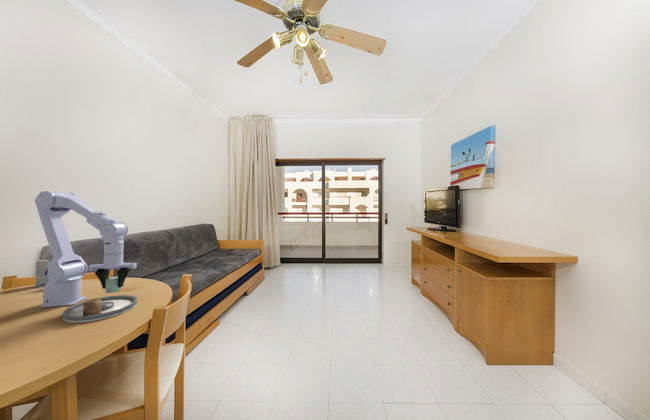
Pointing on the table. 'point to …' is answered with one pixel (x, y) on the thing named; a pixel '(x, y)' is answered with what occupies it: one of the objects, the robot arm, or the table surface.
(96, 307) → the walnut bead
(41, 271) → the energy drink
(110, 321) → the table surface
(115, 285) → the mint green cylinder
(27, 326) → the table surface
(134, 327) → the table surface
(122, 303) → the groove tray
